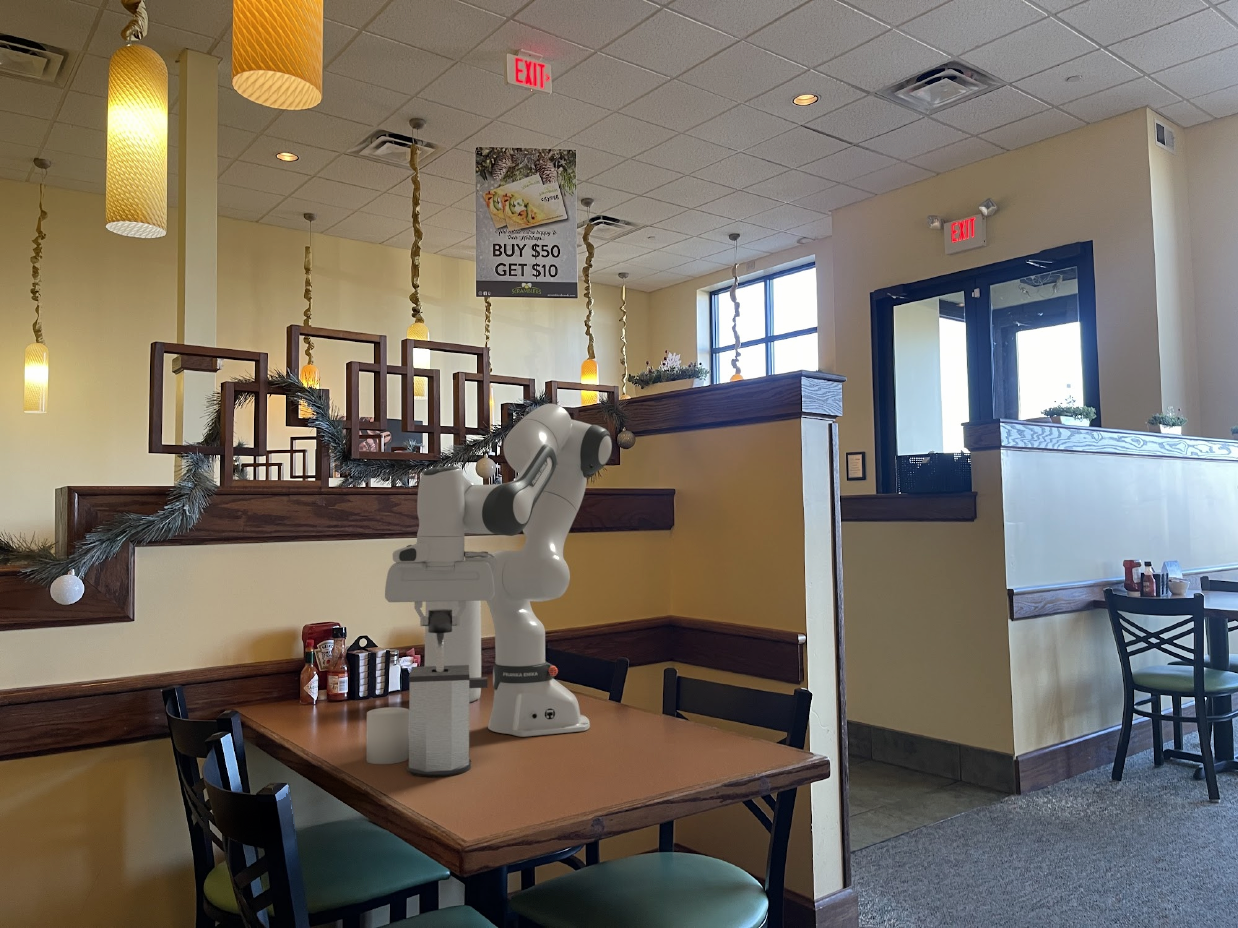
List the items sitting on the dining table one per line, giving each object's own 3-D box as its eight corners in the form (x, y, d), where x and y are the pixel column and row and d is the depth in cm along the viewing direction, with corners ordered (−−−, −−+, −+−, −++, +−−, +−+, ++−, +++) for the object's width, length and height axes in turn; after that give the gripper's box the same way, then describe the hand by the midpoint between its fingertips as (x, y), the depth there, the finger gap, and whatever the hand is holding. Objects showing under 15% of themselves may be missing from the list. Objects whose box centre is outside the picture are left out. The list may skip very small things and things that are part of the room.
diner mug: (410, 748, 182) (410, 703, 183) (408, 762, 172) (408, 714, 172) (369, 750, 181) (370, 705, 182) (364, 765, 170) (364, 716, 171)
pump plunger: (451, 720, 171) (452, 608, 172) (451, 725, 166) (452, 611, 168) (428, 721, 170) (428, 609, 171) (427, 726, 166) (427, 611, 167)
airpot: (405, 778, 161) (406, 676, 162) (409, 761, 172) (409, 666, 173) (488, 774, 163) (488, 674, 165) (486, 757, 175) (486, 663, 176)
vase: (425, 695, 237) (426, 574, 239) (480, 693, 239) (480, 573, 241) (423, 706, 223) (424, 578, 224) (482, 704, 225) (482, 577, 227)
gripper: (495, 550, 175) (495, 622, 174) (387, 551, 171) (386, 624, 171) (496, 551, 169) (496, 626, 168) (384, 552, 165) (383, 628, 164)
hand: (440, 625), depth 169 cm, fingers closed on pump plunger, 4 cm apart
